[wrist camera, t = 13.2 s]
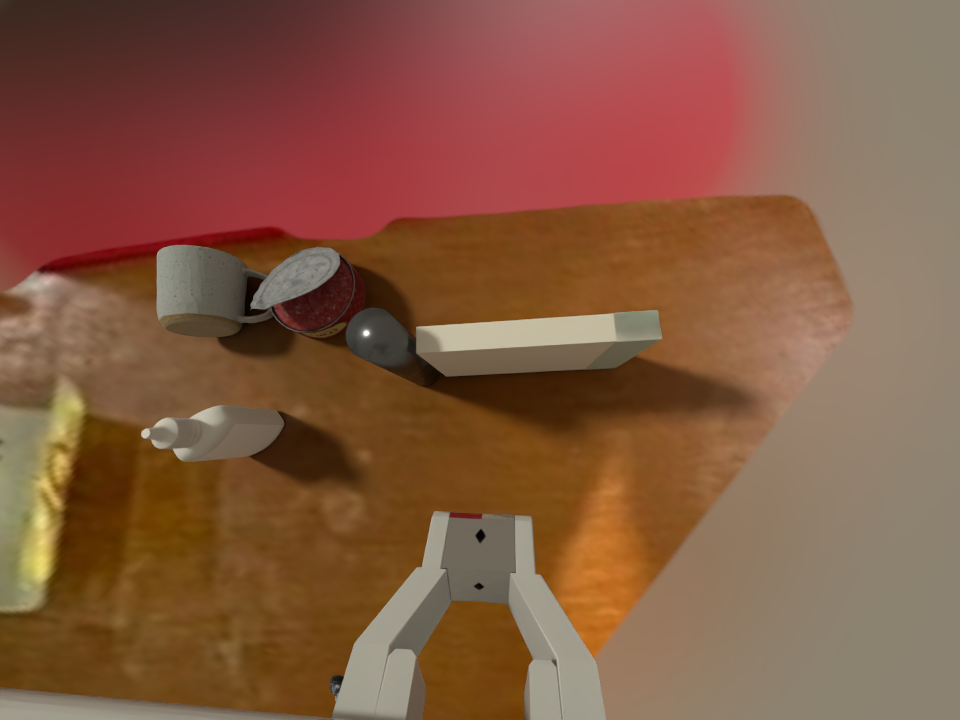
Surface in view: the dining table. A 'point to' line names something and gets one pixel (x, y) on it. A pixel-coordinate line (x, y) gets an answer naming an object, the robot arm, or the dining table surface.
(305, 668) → the dining table surface
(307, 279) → the canned food
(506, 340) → the cream flat block
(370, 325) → the hinge post
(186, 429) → the eye dropper bottle
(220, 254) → the ceramic mug
